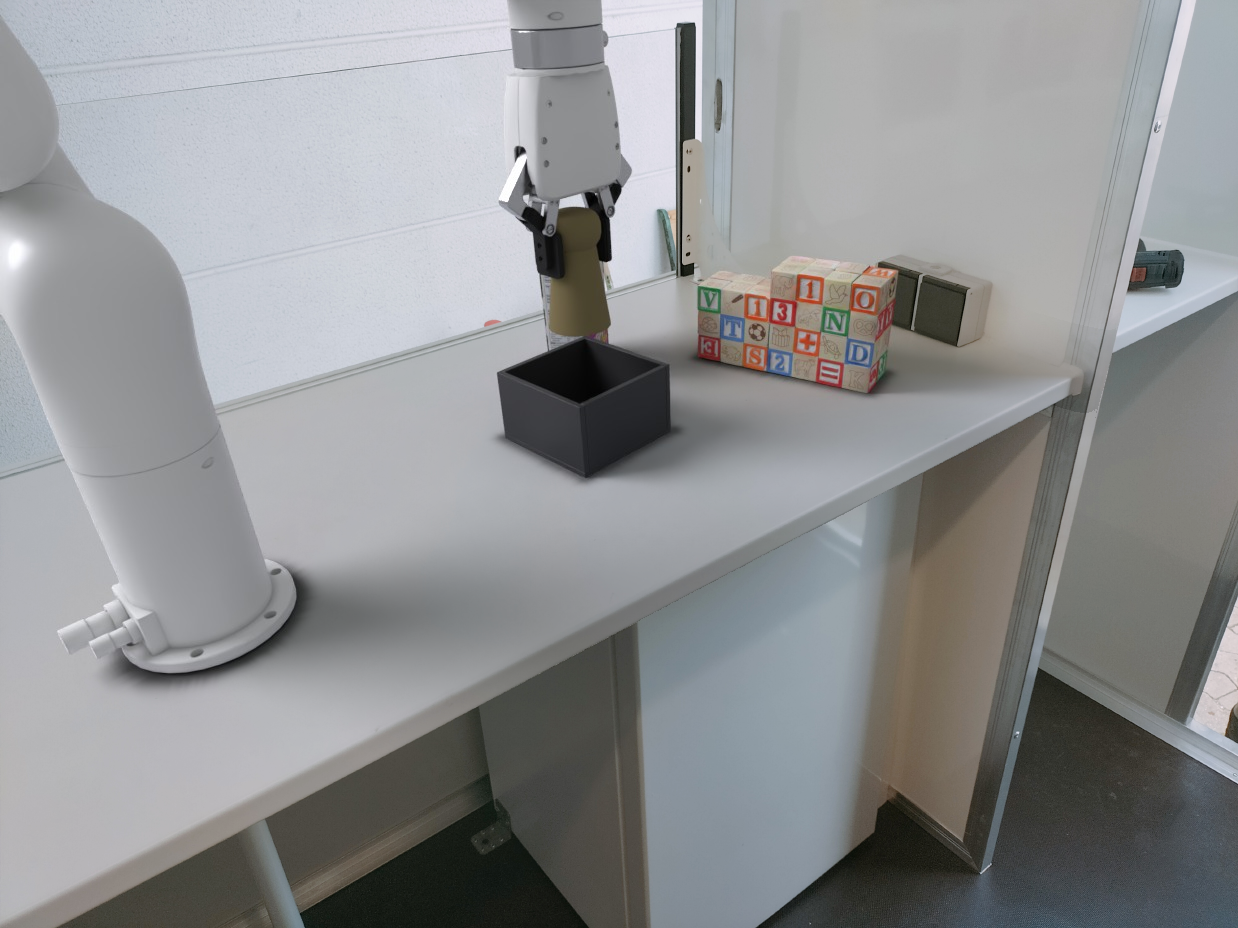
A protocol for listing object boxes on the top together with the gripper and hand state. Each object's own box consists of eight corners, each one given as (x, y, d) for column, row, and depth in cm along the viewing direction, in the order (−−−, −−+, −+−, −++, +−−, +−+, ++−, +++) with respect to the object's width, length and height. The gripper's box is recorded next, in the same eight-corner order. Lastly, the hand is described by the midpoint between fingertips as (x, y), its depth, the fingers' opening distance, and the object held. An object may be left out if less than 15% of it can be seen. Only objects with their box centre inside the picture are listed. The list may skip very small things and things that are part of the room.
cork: (624, 322, 82) (618, 206, 76) (579, 341, 78) (570, 221, 73) (580, 309, 86) (572, 197, 80) (535, 327, 82) (523, 212, 76)
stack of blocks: (696, 358, 103) (695, 259, 97) (719, 340, 108) (720, 244, 102) (869, 394, 93) (881, 285, 87) (887, 372, 98) (900, 267, 91)
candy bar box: (571, 348, 108) (561, 218, 100) (610, 350, 107) (602, 219, 99) (547, 386, 99) (534, 246, 90) (589, 388, 98) (579, 247, 89)
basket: (585, 478, 81) (579, 407, 77) (505, 438, 88) (496, 372, 85) (671, 430, 88) (669, 364, 84) (590, 397, 96) (585, 335, 92)
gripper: (601, 40, 77) (612, 239, 87) (445, 62, 67) (477, 284, 76) (662, 42, 73) (666, 252, 82) (505, 65, 62) (530, 302, 72)
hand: (575, 265), depth 79 cm, fingers closed on cork, 5 cm apart
